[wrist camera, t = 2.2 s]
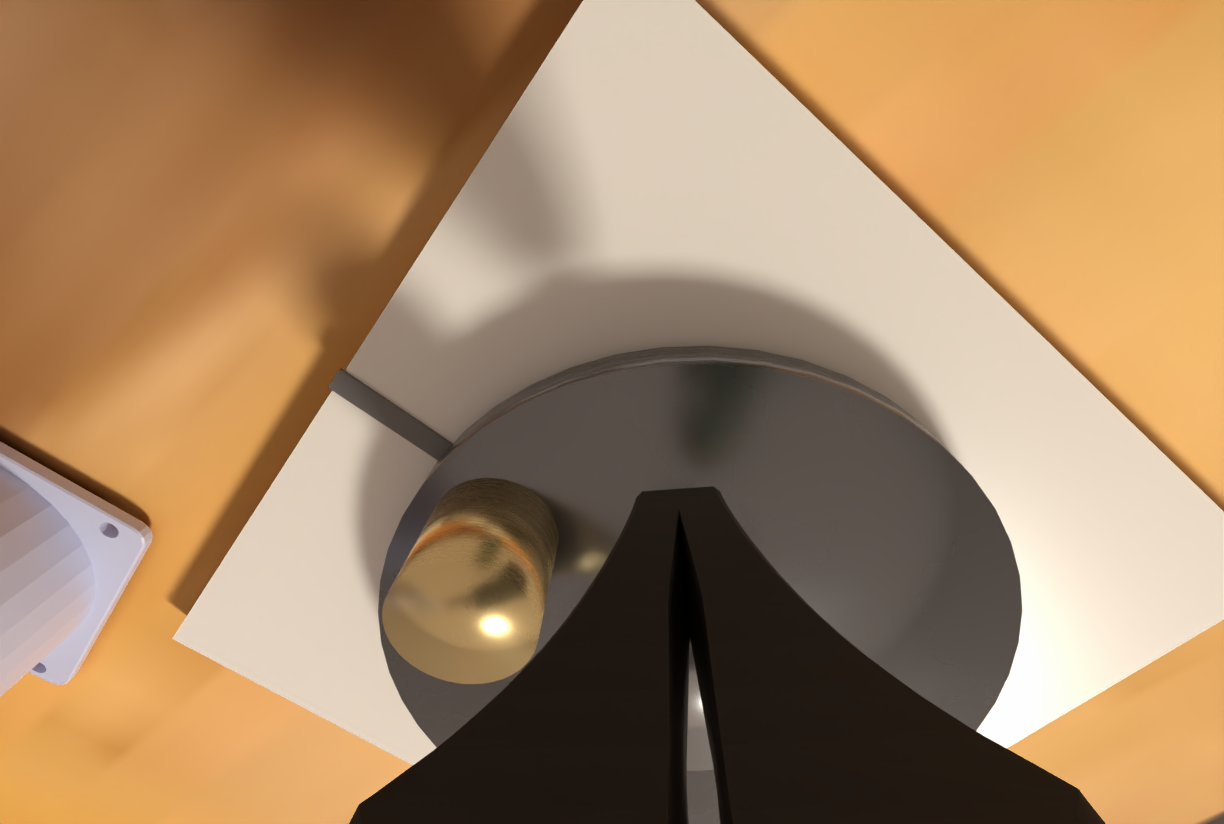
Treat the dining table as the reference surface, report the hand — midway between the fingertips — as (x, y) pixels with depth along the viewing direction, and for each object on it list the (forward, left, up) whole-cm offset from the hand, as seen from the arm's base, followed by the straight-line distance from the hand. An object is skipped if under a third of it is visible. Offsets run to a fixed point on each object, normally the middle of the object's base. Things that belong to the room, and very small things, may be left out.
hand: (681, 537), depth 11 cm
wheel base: (+4, -4, -6) cm, 8 cm away
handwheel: (+4, -4, -4) cm, 7 cm away
